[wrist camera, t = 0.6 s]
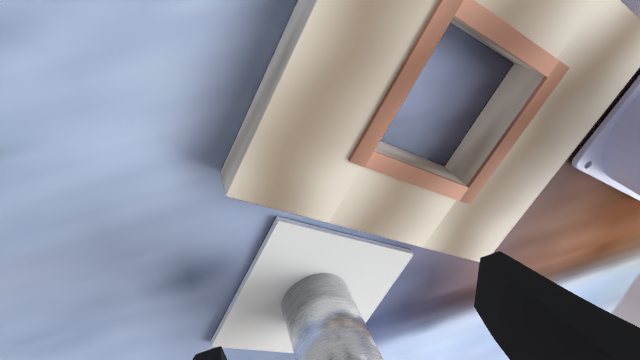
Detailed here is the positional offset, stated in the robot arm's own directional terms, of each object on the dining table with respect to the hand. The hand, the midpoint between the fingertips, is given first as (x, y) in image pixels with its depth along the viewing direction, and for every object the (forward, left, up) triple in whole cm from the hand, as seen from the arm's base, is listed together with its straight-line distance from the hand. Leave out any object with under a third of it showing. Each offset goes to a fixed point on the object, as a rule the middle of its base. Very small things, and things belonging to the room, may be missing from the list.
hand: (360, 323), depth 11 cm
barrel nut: (-6, +8, -9) cm, 13 cm away
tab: (-6, +8, -10) cm, 14 cm away
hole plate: (-6, -5, -10) cm, 12 cm away
